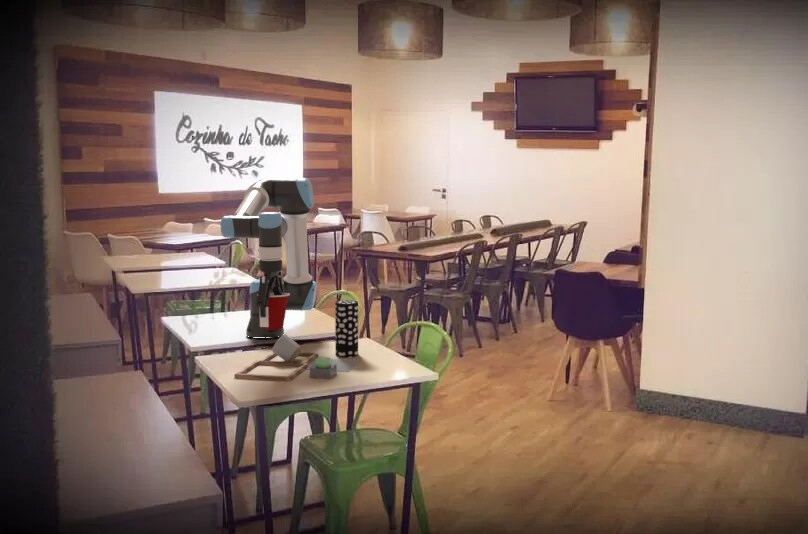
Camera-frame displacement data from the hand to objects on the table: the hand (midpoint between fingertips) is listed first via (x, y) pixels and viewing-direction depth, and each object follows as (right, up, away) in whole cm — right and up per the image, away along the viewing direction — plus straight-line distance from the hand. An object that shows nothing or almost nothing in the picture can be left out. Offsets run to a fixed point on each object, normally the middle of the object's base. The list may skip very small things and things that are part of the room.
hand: (271, 322), depth 262 cm
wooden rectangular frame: (+2, -16, +10) cm, 19 cm away
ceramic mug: (+3, -15, +18) cm, 24 cm away
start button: (+17, -14, -2) cm, 23 cm away
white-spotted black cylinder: (+23, -14, +26) cm, 38 cm away
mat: (+19, -16, +12) cm, 28 cm away
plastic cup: (0, -2, +2) cm, 3 cm away
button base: (+17, -18, -2) cm, 25 cm away
